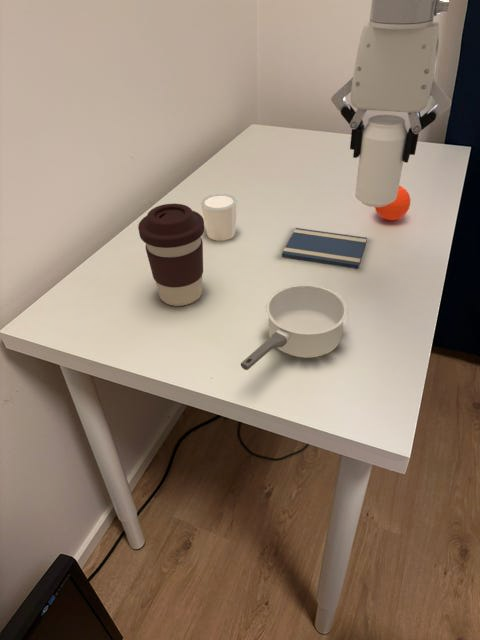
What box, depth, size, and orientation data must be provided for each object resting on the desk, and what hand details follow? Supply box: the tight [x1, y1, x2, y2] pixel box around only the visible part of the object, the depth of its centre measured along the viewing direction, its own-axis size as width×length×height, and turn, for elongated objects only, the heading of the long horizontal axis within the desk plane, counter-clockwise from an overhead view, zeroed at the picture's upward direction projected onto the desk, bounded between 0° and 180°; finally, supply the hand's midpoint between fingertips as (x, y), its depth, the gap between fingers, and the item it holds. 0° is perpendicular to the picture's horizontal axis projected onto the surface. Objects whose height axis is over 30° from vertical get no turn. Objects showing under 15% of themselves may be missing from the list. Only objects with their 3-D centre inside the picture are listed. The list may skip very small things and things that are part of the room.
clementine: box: [374, 185, 411, 221], centre depth 97 cm, size 8×7×7 cm
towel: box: [281, 227, 368, 270], centre depth 91 cm, size 14×10×1 cm
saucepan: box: [240, 283, 348, 371], centre depth 68 cm, size 12×20×6 cm, turn 141°
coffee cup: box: [137, 203, 206, 307], centre depth 77 cm, size 10×10×15 cm
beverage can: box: [355, 114, 408, 208], centre depth 71 cm, size 6×6×12 cm
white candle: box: [200, 193, 238, 242], centre depth 95 cm, size 7×7×7 cm
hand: (381, 155), depth 70 cm, fingers closed on beverage can, 6 cm apart
